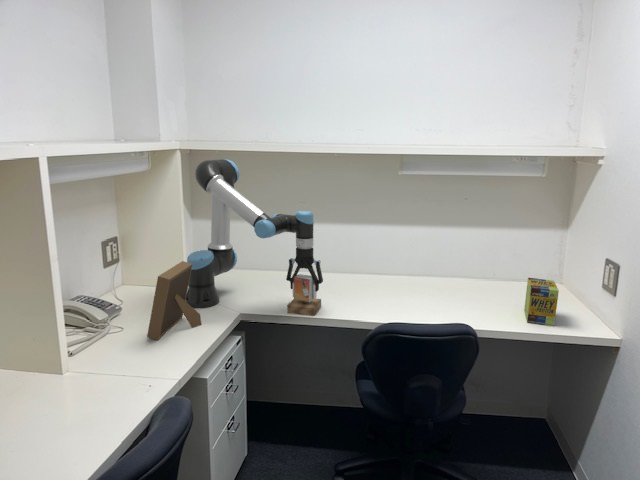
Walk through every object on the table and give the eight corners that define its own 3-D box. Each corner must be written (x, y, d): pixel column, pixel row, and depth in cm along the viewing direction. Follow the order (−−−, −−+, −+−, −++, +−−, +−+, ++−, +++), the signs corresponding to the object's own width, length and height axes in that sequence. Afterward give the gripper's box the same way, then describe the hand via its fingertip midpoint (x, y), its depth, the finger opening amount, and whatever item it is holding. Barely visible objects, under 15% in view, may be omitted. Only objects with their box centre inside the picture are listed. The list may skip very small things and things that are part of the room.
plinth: (287, 314, 197) (287, 305, 196) (295, 304, 208) (295, 296, 207) (314, 316, 194) (314, 308, 193) (321, 307, 205) (321, 298, 204)
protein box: (526, 323, 188) (530, 287, 185) (523, 310, 202) (527, 277, 199) (554, 326, 185) (559, 290, 181) (549, 313, 199) (554, 279, 195)
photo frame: (147, 339, 169) (143, 275, 164) (172, 317, 190) (169, 260, 185) (185, 342, 168) (182, 277, 162) (206, 320, 189) (204, 262, 183)
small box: (293, 299, 199) (293, 276, 197) (299, 295, 204) (299, 273, 202) (309, 302, 195) (309, 279, 193) (315, 298, 200) (315, 275, 198)
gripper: (278, 247, 194) (278, 297, 199) (326, 250, 188) (326, 302, 193) (283, 243, 201) (284, 292, 206) (330, 246, 196) (330, 296, 200)
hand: (304, 297), depth 199 cm, fingers closed on small box, 9 cm apart
